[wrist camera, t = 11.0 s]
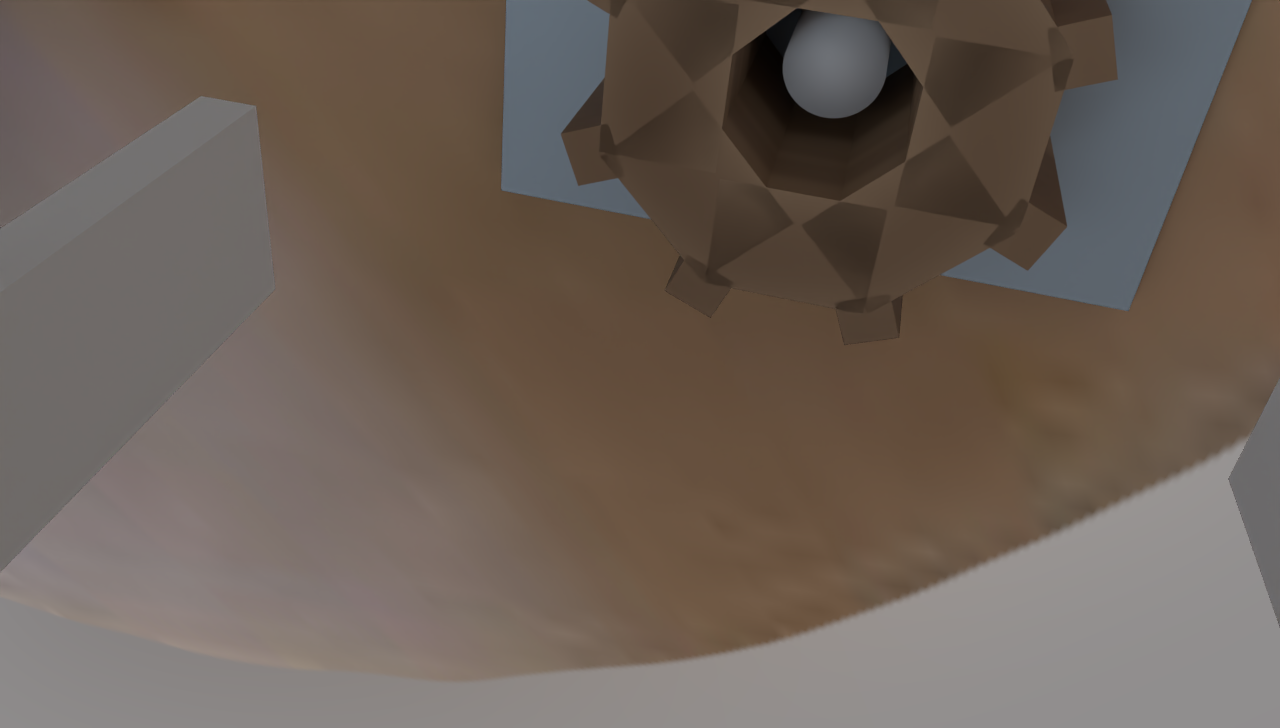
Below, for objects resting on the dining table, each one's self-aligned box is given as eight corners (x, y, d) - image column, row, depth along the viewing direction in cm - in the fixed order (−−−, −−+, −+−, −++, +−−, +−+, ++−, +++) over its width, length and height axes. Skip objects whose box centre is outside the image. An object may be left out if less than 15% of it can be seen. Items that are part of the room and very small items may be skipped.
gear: (621, 173, 29) (551, 285, 24) (659, -254, 23) (580, -223, 18) (1003, 244, 27) (1015, 379, 22) (1139, -191, 22) (1192, -139, 17)
